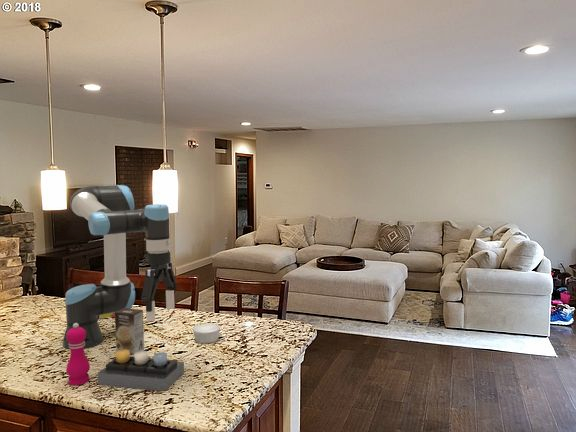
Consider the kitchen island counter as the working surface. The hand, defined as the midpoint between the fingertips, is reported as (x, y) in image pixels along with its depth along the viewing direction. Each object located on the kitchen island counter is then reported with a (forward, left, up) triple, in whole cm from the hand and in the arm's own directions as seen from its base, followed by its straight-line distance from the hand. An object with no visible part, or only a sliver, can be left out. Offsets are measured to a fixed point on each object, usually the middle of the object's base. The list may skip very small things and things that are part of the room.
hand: (161, 314), depth 155 cm
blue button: (0, -1, -20) cm, 20 cm away
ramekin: (0, +38, -23) cm, 44 cm away
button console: (-7, -1, -22) cm, 23 cm away
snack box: (-62, +57, -22) cm, 87 cm away
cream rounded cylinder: (-7, -1, -20) cm, 21 cm away
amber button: (-14, -1, -20) cm, 25 cm away
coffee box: (-25, +21, -22) cm, 40 cm away
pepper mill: (-27, -7, -22) cm, 36 cm away
